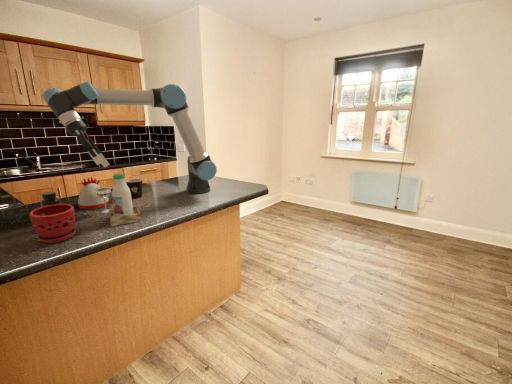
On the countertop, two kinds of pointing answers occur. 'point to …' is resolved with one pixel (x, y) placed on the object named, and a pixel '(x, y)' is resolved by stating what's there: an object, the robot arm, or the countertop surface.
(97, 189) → the wineglass
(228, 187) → the countertop surface
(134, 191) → the coffee mug
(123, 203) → the milk bottle
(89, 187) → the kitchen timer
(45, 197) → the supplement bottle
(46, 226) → the plant pot
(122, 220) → the wooden tray
